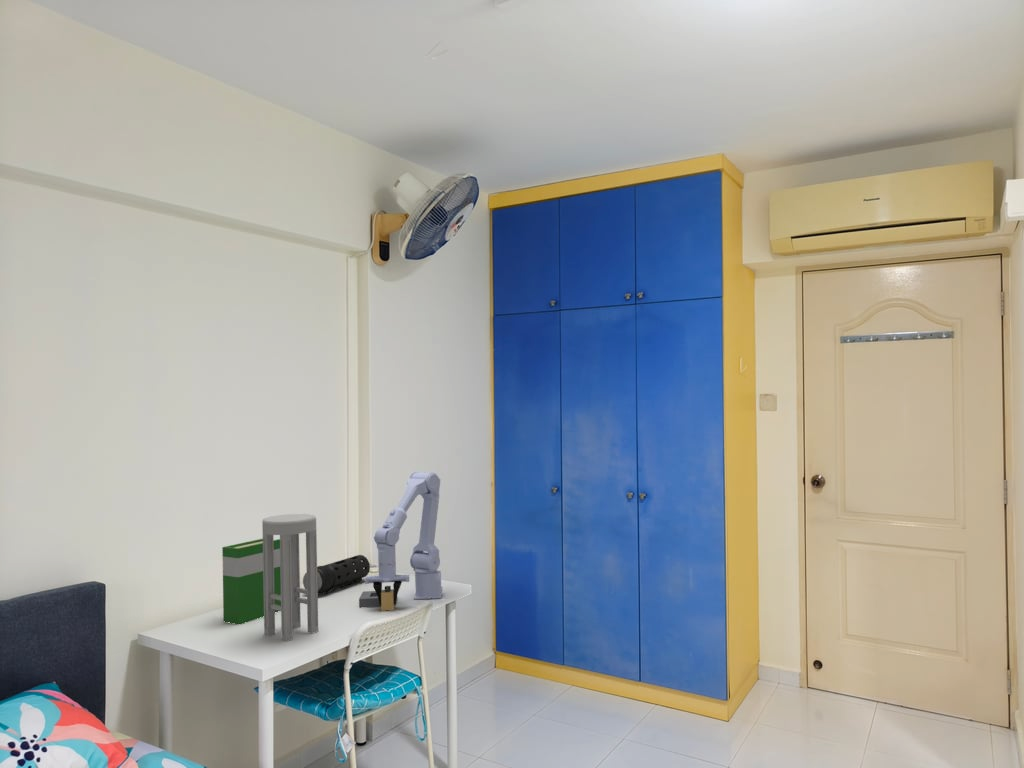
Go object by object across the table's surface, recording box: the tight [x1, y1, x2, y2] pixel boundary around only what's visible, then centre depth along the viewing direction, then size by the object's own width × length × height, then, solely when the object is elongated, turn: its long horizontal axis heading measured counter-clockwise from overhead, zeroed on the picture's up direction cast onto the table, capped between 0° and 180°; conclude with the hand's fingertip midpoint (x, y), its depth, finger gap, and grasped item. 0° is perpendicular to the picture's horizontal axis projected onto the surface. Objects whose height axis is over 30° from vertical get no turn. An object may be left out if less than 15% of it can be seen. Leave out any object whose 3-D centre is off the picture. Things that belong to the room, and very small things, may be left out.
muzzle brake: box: [302, 554, 371, 595], centre depth 277 cm, size 10×28×10 cm, turn 153°
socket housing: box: [358, 590, 398, 609], centre depth 254 cm, size 12×10×3 cm
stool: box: [261, 513, 319, 642], centre depth 223 cm, size 16×16×35 cm
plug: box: [380, 585, 396, 612], centre depth 247 cm, size 4×4×8 cm
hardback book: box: [222, 538, 281, 625], centre depth 243 cm, size 18×7×24 cm, turn 150°
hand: (388, 604), depth 246 cm, fingers closed on plug, 4 cm apart
